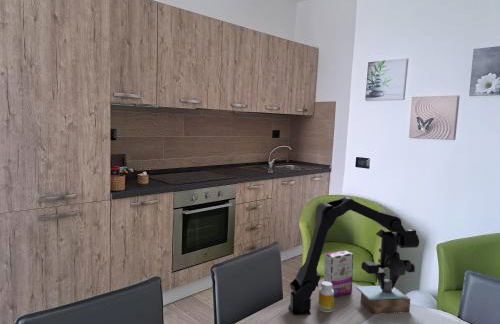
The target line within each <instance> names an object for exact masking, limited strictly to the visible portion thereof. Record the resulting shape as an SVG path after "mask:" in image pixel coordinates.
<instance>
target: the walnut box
mask: <svg viewBox="0 0 500 324" xmlns="http://www.w3.org/2000/svg"><path fill="white" fill-rule="evenodd" d="M394 288H395V289H397V290H398V291H399V292H401V293H402V294H403V295H405V296H406V298H401V299H382V300H369V299H367V298H366V297H365V296H364V295H363V294H362V293H361V292H360V302H361V303H362V304H363V305H364V306H365V308H367V309H368V310H369V311H370V312H371V314H373V315H380V314H379V313H386V314H399V313H398V312H403V313H410V309H411V297H409V296H407V295H406V294H404V293H403V292H402V291H400V289H398V288H397V287H395V286H394ZM394 312H395V313H394ZM396 312H397V313H396Z"/></svg>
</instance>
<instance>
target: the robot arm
mask: <svg viewBox="0 0 500 324" xmlns="http://www.w3.org/2000/svg"><path fill="white" fill-rule="evenodd" d="M349 211H352V212H355V214H356V213H357V214H359V215H360V216H363V217H365V218H367V219H370V220H372V221H374V222H375V223H376V224H378V226H380V227H382V228H383V229H379V230H378V231H377V232H376V233H375V236H378V237H380V238H381V240H380V248H378V251H379V253H380V258H378V259H377V260H378V263H375V262H373V261H372V260H364V261H362V262H361V269H362V270H363V271H365V273H367V274H369V275H373V274H374V275H375V276H376V279H377V282H378V284H379V285H378V286H380V287H381V289H382V290H383V288H384V279H385V277H386V276H387V275H386V274H387V273H385V272H384V270H389V280H391V281H392V289H393V288H394V287H395V285H396V283H397V281H398V280H399V278H400V277H401V276H405V275H406V273H415V271H416V266H415V264H414V263H412V262H411V261H410V259H401V255H400V252H398V248H401V249H416V248H418V247H419V245H420V239H419V235H418V234H417V230H416V229H414V228H413V229H411V228H408V229H405V228H404V226H403V224H402V219H401V218H400V217H398V216H395V215H393V214H391V213H387V212H384V211H379V210H375V209H374V208H371V207H369V206H366V205H364V204H363V203H360V202H358V201H356V200H354V199H353V198H350V197H347V196H344V197H342V198H339V199H336V200H335V199H334V200H331V201H329V202H321V203H319V204H318V205H316V208H315V215H314V218H315V219H314V220H315V228H314V231H313V234H312V237H311V241H310V245H309V248H308V251H307V254H306V258H305V261H304V263H303V265H302V266H301V267H300V268H299V269H298V272H297V274H296V276H295V278H294V279H293V280H292V281H290V283H289V287H290V289H291V291H290V299H289V300H290V303H289V305H288V308H289V310H290V312H291V313H292V315H294V316H299V315H300V316H301V315H310V314H311V313H312V312H311V308H312V307H311V306H312V305H311V304H312V299H311V297H312V294H313V292H315V291H316V288H319V282H320V280H321V278H322V275H321V274H320V273H319V271H318V266H319V262H320V259H321V255H322V252H323V249H324V245H325V241H326V239H327V236H328V232H329V230H330V229H331V228H332V227H333V226H334V224H335V222H336V220H337V219H338V218H339V217H341V216H343V215H345V214H346V213H348V212H349ZM384 229H385V230H384ZM386 230H387V231H386Z"/></svg>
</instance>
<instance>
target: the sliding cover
mask: <svg viewBox="0 0 500 324" xmlns="http://www.w3.org/2000/svg"><path fill="white" fill-rule="evenodd" d="M355 288H356V289H357V290H358V292H360V294H361V293H362V294H363V295H364V296H365V297H366V298H367V299H369V300H382V299H401V298H406V296H407V295H406V294H405V295H406V296H405V295H403V294H404V293H403V292H402V291H401V292H402V293H403V294H402V293H401V292H399V291H400V290H399V289H398V288H397V289H398V290H399V291H398V290H397V289H395V288H396V287H395V288H393V289H392V281H391V280H390V278H384V288H383V290H382V289H381V287H380V285H362V286H360V285H359V286H356V287H355Z"/></svg>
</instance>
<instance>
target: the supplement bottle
mask: <svg viewBox="0 0 500 324" xmlns="http://www.w3.org/2000/svg"><path fill="white" fill-rule="evenodd" d="M320 286H321V287H319V288H318V306H317V307H318V310H319V311H321V312H323V313H331V312H333V311H334V306H335V305H334V302H335V297H334V290H333V289H332V283H331V282H328V281H324V280H323V281H322V282H320Z"/></svg>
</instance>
